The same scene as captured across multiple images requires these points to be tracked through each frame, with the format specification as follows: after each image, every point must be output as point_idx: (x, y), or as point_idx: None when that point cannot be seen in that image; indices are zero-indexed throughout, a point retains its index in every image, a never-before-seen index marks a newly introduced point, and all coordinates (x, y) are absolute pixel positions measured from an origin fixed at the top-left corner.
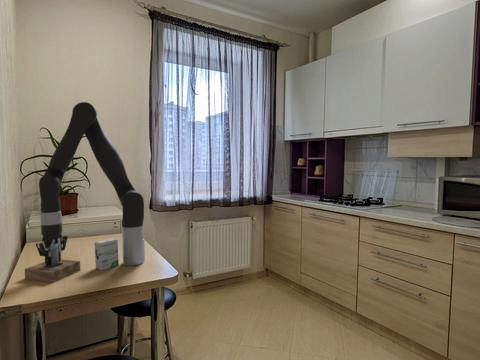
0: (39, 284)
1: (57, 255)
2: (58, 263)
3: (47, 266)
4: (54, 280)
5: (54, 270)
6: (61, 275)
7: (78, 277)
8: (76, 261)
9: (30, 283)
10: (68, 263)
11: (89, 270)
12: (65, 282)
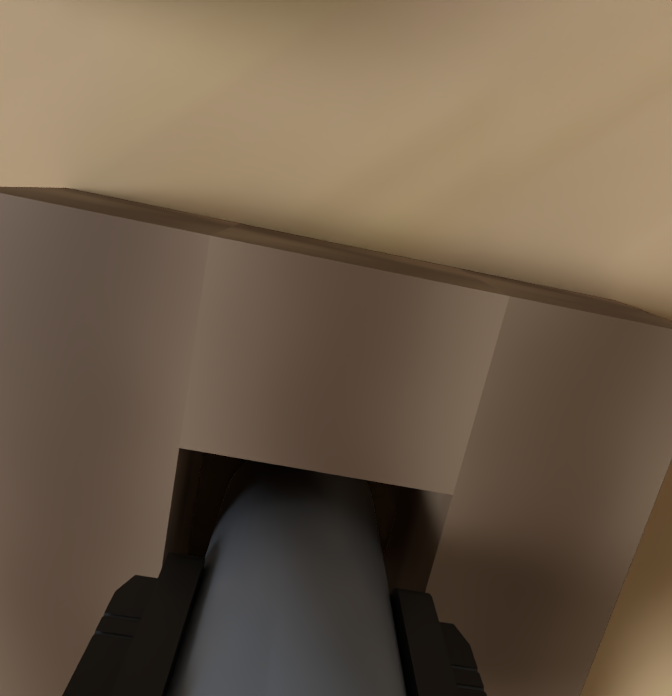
0: None
1: (276, 665)
2: (261, 524)
3: None
4: (603, 298)
5: (607, 375)
6: (481, 276)
7: (397, 9)
8: (4, 263)
9: None
10: (167, 360)
11: (35, 3)
12: (618, 107)
